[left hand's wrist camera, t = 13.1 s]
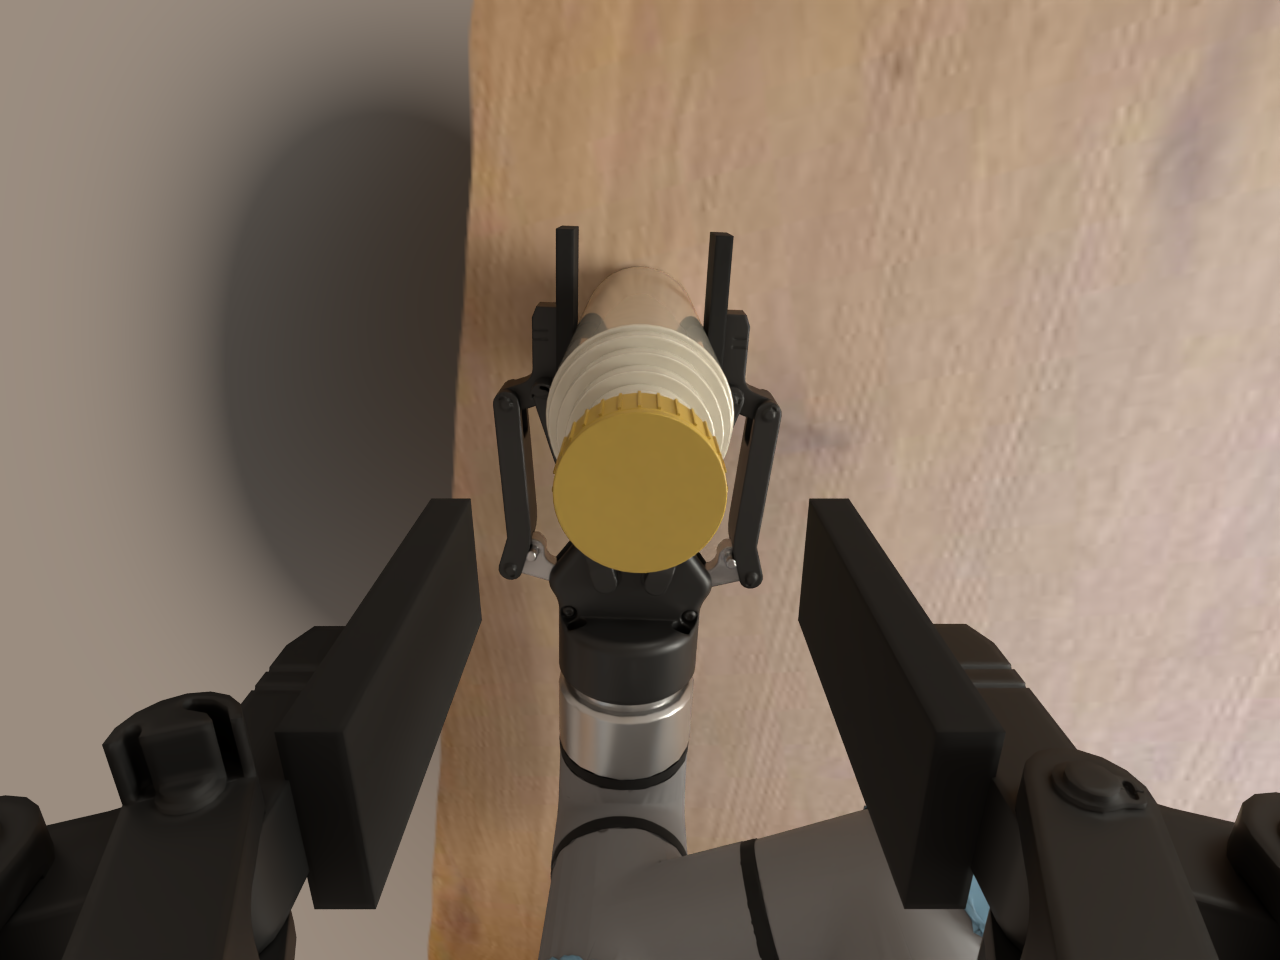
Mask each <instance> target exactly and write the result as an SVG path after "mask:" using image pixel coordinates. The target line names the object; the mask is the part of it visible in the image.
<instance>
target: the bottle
mask: <svg viewBox="0 0 1280 960" xmlns="http://www.w3.org/2000/svg"><path fill="white" fill-rule="evenodd" d="M638 391H641V393H650V394H657V393H660V395H661V396H665V397H668V398H670V399H673V400H675V398H676V399H678V402H679V403H681V404H683V405H685V406H686V407H688V408H689V409H691V408H693V409H694V412H695V414H696V415H697V416H698V417H699V418H700V419H701V420H702V421H706V422H707V425H708V429H709V431H710V432H711V434H712V436H715V437H716V439H717V443H718V446H719V449H720V452H721V454H722V458H723V459H724V457H725V455H726V452H727V449H728V446H729V443H730V439H731V436H732V430H733V425H734V406H733V398H732V394H731V390H730V387H729V384H728V382H727V379H726V377H725V374H724V372H723V370H722V368H721V366H720V363H719V361H718V359H717V357H716V355H715V352H714V350H713V348H712V346H711V344H710V341H709V339H708V337H707V335H706V333H705V330H704V328H703V326H702V324H701V322H700V319H699V317H698V315H697V313H696V311H695V308H694V306H693V304H692V302H691V300H690V298H689V296H688V294H687V292H686V291H685V290H684V288H683V287H682V286H681V285H680V284H679V283H678V281H676V280H675V279H674V278H673V277H671V276H670V275H668V274H666V273H665V272H662V271H660V270H657V269H654V268H649V267H631V268H626V269H623V270H620V271H618V272H615V273H614V274H612V275H610V276H609V277H607V278H606V279H605V280H604V281H602V283H601V284H600V285H599V286H598V287H597V288H596V289H595V291H594V292H593V294H592V296H591V298H590V300H589V302H588V304H587V306H586V308H585V311H584V313H583V315H582V317H581V319H580V322H579V324H578V326H577V328H576V330H575V333H574V335H573V337H572V339H571V341H570V344H569V346H568V348H567V350H566V352H565V355H564V357H563V359H562V361H561V363H560V366H559V368H558V370H557V372H556V374H555V376H554V379H553V382H552V384H551V387H550V390H549V394H548V398H547V405H546V425H547V430H548V436H549V439H550V443H551V446H552V450H553V453H554V455H555V457H556V459H557V458H558V454H559V452H560V449H561V445H562V442H563V439H564V437H567V436H568V434H569V432H570V431H571V427H572V424H573V422H574V421H575V422H577V421H578V420H579V419H580V418H581V417H582V416H583V415H584V413H585V410H586V409H587V408H588V409H589V410H590V409H591V408H592V407H594V406H595V405H597V404H599V403H600V402H601V400H602V399H604V400H607V399H610V398H612V397H615V396H619V393H622V395H623V394H630V393H638Z"/></svg>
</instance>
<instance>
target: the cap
mask: <svg viewBox="0 0 1280 960" xmlns="http://www.w3.org/2000/svg"><path fill="white" fill-rule="evenodd" d="M725 473H727V471H726V467H725V464H724V461H723V458H722V454H721V452H720V449H719V446H718V443H717V439H716V437H715V436H712V434H711V432H710V431H709V429H708V425H707V422H706V421H702V420H701V419H700V418H699V417H698V416H697V415H696V414H695V412H694V409H693V408H691V409H689V408H688V407H686V406H685V405H683V404H681V403H679V402H678V399H676V398H675V400H673V399H670V398H668V397H665V396H661V395H660V393H657V394H650V393H641V391H638V393H630V394H623V395H622V393H619V396H615V397H612V398H610V399H607V400H604V399H602V400H601V402H600V403H599V404H597V405H595V406H594V407H592V408H591V409H590V410H589V409H588V408H587V409H586V410H585V413H584V415H583V416H582V417H581V418H580V419H579V420H578V421H577V422H575V421H574V422H573V424H572V427H571V431H570V432H569V434H568V436H567V437H564V439H563V442H562V445H561V449H560V452H559V454H558V458H557V461H556V464H555V468H554V471H553V474H555V477H554V482H553V487H552V492H553V503H554V508H555V512H556V515H557V518H558V521H559V523H560V525H561V527H562V529H563V531H564V533H565V534H566V536H567V537H568V539H569V540H570V541H571V542H572V543H573V544H574V545H575V547H576V548H578V549H579V550H580V551H581V552H582V553H583V554H584V555H586V556H587V557H589V558H590V559H592V560H593V561H595V562H597V563H599V564H601V565H603V566H606V567H609V568H611V569H615V570H619V571H623V572H631V573H649V572H657V571H661V570H665V569H668V568H671V567H674V566H677V565H679V564H681V563H683V562H685V561H687V560H688V559H690V558H691V557H693V556H694V555H696V554H697V553H698V552H699V551H700V550H701V549H702V548H704V547H705V545H706V544H707V543H708V542H709V541H710V540H711V538H712V537H713V535H714V534H715V533H716V531H717V529H718V527H719V525H720V523H721V521H722V518H723V515H724V512H725V508H726V503H727V491H728V486H727V482H726V477H725Z"/></svg>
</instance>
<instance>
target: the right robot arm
mask: <svg viewBox="0 0 1280 960" xmlns="http://www.w3.org/2000/svg"><path fill="white" fill-rule="evenodd" d="M733 237H734V236H732V235H730V234H728V233H723V232H710V243H709V257H708V271H707V284H706V298H705V312H704V326H703V328H704V330H705V333H706V335H707V337H708V339H709V341H710V344H711V346H712V348H713V350H714V352H715V355H716V357H717V359H718V361H719V363H720V366H721V368H722V370H723V372H724V374H725V377H726V379H727V382H728V384H729V387H730V390H731V394H732V398H733V406H734V425H735V422H736V420H737V418H738V415H739V414H740V415H743V416H745V417H746V420H745V426H744V432H743V437H742V443H741V449H740V455H739V461H738V467H737V473H736V479H735V484H734V490H733V496H732V502H731V508H730V514H729V522H728V532H729V539H724V540H723V541H722V542H720V543H719V545H718V547H717V554H716V556H715V558H714V559H713V560H711V561H710V562H706V561H705V560H704V558H703V557H702V556H701V554H700V553H699V552H698V553H697V554H696V555H694V556H693V557H691V558H690V559H688V560H687V561H685V562H683V563H681V564H679V565H677V566H674V567H671V568H668V569H665V570H661V571H657V572H649V573H631V572H623V571H619V570H615V569H611V568H609V567H606V566H603V565H601V564H599V563H597V562H595V561H593V560H592V559H590V558H589V557H587V556H586V555H584V554H583V553H582V552H581V551H580V550H579V549H578V548H576V547H575V545H574V544H573V543H572V542H571V541H569V542H568V543H567V544H566V546H565V547H564V548H563V549H562V550H561V552H560V553H559V554H558V555H557V556H556V557H555V556H553V555H551V554H550V553H549V552H548V550H547V541H546V538H545V537H544V536H543V535H542V534H541V533H540V532H535V527H536V521H537V505H536V494H535V483H534V471H533V460H532V449H531V438H530V426H529V415H528V408H530V407H534V406H536V408H537V411H538V414H539V417H540V420H541V423H542V426H543V429H544V432H545V435H546V438H547V441H548V444H549V447H550V450H551V453H552V456H553V459H554V461H555V464H556V461H557V459H556V457H555V455H554V453H553V450H552V446H551V443H550V439H549V436H548V430H547V425H546V405H547V398H548V394H549V390H550V387H551V384H552V382H553V379H554V376H555V374H556V372H557V370H558V368H559V366H560V363H561V361H562V359H563V357H564V355H565V352H566V350H567V348H568V346H569V344H570V341H571V339H572V337H573V335H574V333H575V330H576V328H577V326H578V241H579V226H560V227H558V228H556V303H554V302H540V303H539V304H538V305H537V306H536V308H535V311H534V314H533V316H532V355H533V370H532V373H531V374H530V375H528V376H526V377H523V378H520V379H517V380H515V379H512V380H508V381H507V382H505V383H504V385H503V386H502V388H501V389H500V390H499V392H498V393H497V395H496V396H495V398H494V401H493V409H494V418H495V427H496V437H497V446H498V455H499V465H500V474H501V484H502V493H503V502H504V512H505V521H506V531H507V540H506V544H505V547H504V551H503V554H502V557H501V561H500V564H499V572H500V574H501V575H502V576H503V577H504V578H506V579H511V580H513V579H517V578H518V577H519V576H520V575H521V573H524V574H528V575H531V576H535V577H538V578H542V579H545V580H549V583H550V587H551V589H552V591H553V592H554V594H555V595H556V597H557V599H558V603H559V665H560V669H561V673H560V678H559V730H560V778H559V803H558V814H557V822H556V830H555V837H554V844H553V852H552V861H551V885H550V891H549V897H548V903H547V909H546V915H545V922H544V928H543V934H542V940H541V946H540V952H539V958H538V960H977V957H978V953H979V949H980V945H981V941H982V937H983V933H984V929H985V925H986V920H987V916H988V912H989V908H990V907H989V905H988V903H987V901H986V899H985V897H984V895H983V893H982V890H981V888H980V886H979V884H978V882H977V880H976V878H975V876H974V874H973V878H972V883H971V887H970V892H969V896H968V900H967V905H966V909H904V907H903V904H902V902H901V899H900V896H899V893H898V891H897V888H896V885H895V882H894V880H893V877H892V874H891V872H890V869H889V866H888V863H887V861H886V858H885V855H884V852H883V850H882V847H881V844H880V842H879V839H878V836H877V833H876V831H875V828H874V825H873V822H872V820H871V817H870V814H869V812H868V809H867V806H864V809H863V810H861V811H857V812H854V813H850V814H847V815H843V816H839V817H836V818H832V819H829V820H825V821H821V822H818V823H814V824H811V825H807V826H803V827H800V828H796V829H792V830H789V831H785V832H782V833H778V834H774V835H771V836H767V837H764V838H760V839H757V838H756V839H751V840H747V841H744V842H743V841H741V842H737V843H733V844H729V845H725V846H722V847H718V848H714V849H710V850H706V851H702V852H698V853H694V854H690V855H687V843H686V829H685V810H684V804H685V779H686V756H687V750H688V741H689V737H690V725H691V711H692V698H693V683H694V680H693V677H692V676H693V673H694V670H695V661H696V649H697V636H698V624H699V612H700V608H701V605H702V603H703V601H704V600H705V598H706V597H707V596H708V595H709V593H710V591H711V587H713V586H718V585H722V584H727V583H732V582H736V581H740V583H741V585H743V586H744V587H746V588H755V587H757V586H759V585H760V584H761V582H762V580H763V575H762V570H761V565H760V561H759V556H758V551H757V543H758V538H759V532H760V527H761V522H762V517H763V511H764V506H765V501H766V495H767V490H768V485H769V480H770V474H771V469H772V464H773V458H774V453H775V448H776V443H777V437H778V432H779V427H780V421H781V409H780V407H779V406H778V404H777V402H776V401H775V399H774V398H773V396H772V395H771V393H770V392H768V391H767V390H764V389H758V388H755V387H753V386H750V385H749V384H747V383H746V382H745V373H746V363H747V352H748V342H749V331H750V325H749V322H748V318H747V315H746V314H745V313H744V312H743V310H727V309H728V297H729V285H730V273H731V261H732V249H733ZM734 425H733V427H734Z"/></svg>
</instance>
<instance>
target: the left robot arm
mask: <svg viewBox="0 0 1280 960" xmlns="http://www.w3.org/2000/svg"><path fill="white" fill-rule="evenodd" d="M481 621H482V617H481V606H480V595H479V585H478V574H477V563H476V552H475V541H474V530H473V519H472V509H471V499H431V500H430V501H429V503H428V504H427V506H426V507H425V509H424V510H423V512H422V513H421V515H420V516H419V518H418V519H417V521H416V522H415V524H414V525H413V527H412V528H411V530H410V531H409V533H408V534H407V536H406V537H405V539H404V540H403V542H402V543H401V545H400V546H399V547H398V549H397V550H396V552H395V553H394V555H393V556H392V558H391V559H390V561H389V562H388V564H387V565H386V567H385V568H384V570H383V571H382V573H381V574H380V576H379V577H378V579H377V580H376V582H375V583H374V585H373V586H372V588H371V589H370V591H369V592H368V594H367V595H366V596H365V598H364V599H363V601H362V602H361V604H360V605H359V607H358V609H357V610H356V611H355V613H354V614H353V616H352V617H351V619H350V620H349V622H348V623H347V625H346V626H314V627H313V628H311V629H310V630H308V631H307V632H305V633H304V634H302V635H301V636H299V637H298V638H296V639H295V640H294V641H292V642H291V643H289V644H288V645H286V647H285V648H284V649H283V650H282V652H281V653H280V654H279V656H278V657H277V658H276V660H275V661H274V662H273V663H272V665H271V666H270V668H269V672H265V674H264V675H263V676H262V678H261V679H260V680H259V682H258V683H257V684H256V685H255V690H254V691H253V690H252V691H251V692H250V693H249V694H248V696H247V697H246V698H245V700H244V701H243V702H242V703H241V704H240V703H239V702H237V701H236V700H235V699H234V698H232V697H231V696H230V695H226V694H221V693H215V692H200V693H188V694H184V695H180V696H176V697H173V698H169V699H166V700H162V701H160V702H157V703H155V704H153V705H151V706H149V707H147V708H145V709H143V710H141V711H139V712H136V713H135V714H133V715H132V716H131V717H129V718H128V719H127V720H125V721H124V722H123V723H121V724H120V725H119V726H117V727H116V728H115V729H114V730H113V731H112V733H111V734H110V735H109V737H108V738H107V739H106V740H105V742H104V743H103V744H102V746H103V749H104V752H105V755H106V758H107V761H108V764H109V767H110V770H111V773H112V775H113V778H114V781H115V784H116V787H117V790H118V793H119V796H120V799H121V802H122V807H121V808H118V809H115V810H111V811H108V812H103V813H99V814H95V815H91V816H86V817H82V818H77V819H73V820H69V821H64V822H60V823H56V824H51V825H47V826H46V824H45V821H44V819H43V816H42V813H41V811H40V808H39V806H38V805H37V804H35V803H34V802H32V801H31V800H30V799H28V798H27V797H18V796H6V795H5V796H0V960H294V958H295V947H296V932H295V926H294V920H293V917H292V912H291V909H292V907H293V905H294V902H295V900H296V898H297V896H298V894H299V892H300V890H301V888H302V886H303V884H304V882H305V880H306V878H308V883H309V887H310V892H311V896H312V900H313V905H314V909H376V907H377V904H378V902H379V899H380V896H381V893H382V891H383V888H384V885H385V882H386V880H387V877H388V874H389V872H390V869H391V866H392V863H393V861H394V858H395V855H396V852H397V850H398V847H399V844H400V842H401V839H402V836H403V833H404V831H405V828H406V825H407V822H408V820H409V817H410V814H411V812H412V809H413V806H414V803H415V801H416V798H417V795H418V792H419V790H420V787H421V784H422V782H423V779H424V776H425V773H426V771H427V768H428V765H429V762H430V760H431V757H432V754H433V752H434V749H435V746H436V743H437V741H438V738H439V735H440V733H441V730H442V727H443V724H444V722H445V719H446V716H447V713H448V711H449V708H450V705H451V703H452V700H453V697H454V694H455V692H456V689H457V686H458V683H459V681H460V678H461V675H462V673H463V670H464V667H465V664H466V662H467V659H468V656H469V653H470V651H471V648H472V645H473V643H474V640H475V637H476V634H477V632H478V629H479V626H480V623H481ZM798 621H799V623H800V626H801V629H802V632H803V634H804V637H805V640H806V643H807V645H808V648H809V651H810V653H811V656H812V659H813V662H814V664H815V667H816V670H817V673H818V675H819V678H820V681H821V683H822V686H823V689H824V692H825V694H826V697H827V700H828V703H829V705H830V708H831V711H832V713H833V716H834V719H835V722H836V724H837V727H838V730H839V733H840V735H841V738H842V741H843V743H844V746H845V749H846V752H847V754H848V757H849V760H850V763H851V765H852V768H853V771H854V773H855V776H856V779H857V782H858V784H859V787H860V790H861V792H862V795H863V798H864V801H865V803H866V806H867V809H868V812H869V814H870V817H871V820H872V822H873V825H874V828H875V831H876V833H877V836H878V839H879V842H880V844H881V847H882V850H883V852H884V855H885V858H886V861H887V863H888V866H889V869H890V872H891V874H892V877H893V880H894V882H895V885H896V888H897V891H898V893H899V896H900V899H901V902H902V904H903V907H904V909H966V905H967V900H968V896H969V892H970V887H971V883H972V878H973V874H974V876H975V878H976V880H977V882H978V884H979V886H980V888H981V890H982V893H983V895H984V897H985V899H986V901H987V903H988V905H989V907H990V908H989V912H988V916H987V920H986V925H985V929H984V933H983V937H982V941H981V945H980V949H979V953H978V957H977V960H1280V793H1277V792H1274V793H1263V794H1254V795H1253V796H1252V797H1250V798H1249V799H1247V800H1246V801H1244V802H1243V803H1242V806H1241V808H1240V811H1239V813H1238V816H1237V819H1236V821H1235V823H1234V822H1230V821H1225V820H1221V819H1217V818H1212V817H1208V816H1203V815H1199V814H1195V813H1190V812H1186V811H1182V810H1177V809H1173V808H1169V807H1166V806H1163V805H1159V804H1157V803H1156V801H1155V800H1154V798H1153V797H1152V795H1151V794H1150V792H1149V791H1148V789H1147V788H1146V786H1144V785H1143V784H1142V783H1141V782H1140V781H1138V780H1137V779H1136V778H1135V777H1134V776H1133V775H1131V774H1130V773H1129V772H1128V771H1127V770H1125V769H1123V768H1121V767H1119V766H1117V765H1115V764H1114V763H1112V762H1110V761H1108V760H1106V759H1104V758H1102V757H1099V756H1096V755H1093V754H1090V753H1086V752H1083V751H1080V750H1077V749H1076V748H1075V746H1074V745H1073V744H1072V742H1071V741H1070V740H1069V739H1068V737H1067V736H1066V735H1065V733H1064V732H1063V731H1062V730H1061V728H1060V727H1059V726H1058V724H1057V723H1056V722H1055V721H1054V719H1053V718H1052V717H1051V715H1050V714H1049V713H1048V712H1047V710H1046V709H1045V708H1044V706H1043V705H1042V704H1041V703H1040V701H1039V700H1038V699H1037V698H1036V696H1035V695H1034V694H1033V692H1032V691H1031V690H1030V689H1029V688H1026V686H1025V682H1024V681H1023V680H1022V678H1021V677H1020V676H1019V674H1018V673H1017V672H1016V671H1015V669H1011V664H1010V663H1009V662H1008V660H1007V659H1006V658H1005V656H1004V655H1003V654H1002V653H1001V651H1000V650H999V649H998V647H997V646H996V645H995V644H994V643H993V642H992V641H990V640H989V639H987V638H986V637H985V636H983V635H982V634H980V633H979V632H977V631H976V630H974V629H973V628H971V627H970V626H968V625H967V624H933V623H932V622H931V620H930V619H929V617H928V616H927V614H926V613H925V611H924V610H923V608H922V607H921V605H920V604H919V602H918V601H917V599H916V598H915V596H914V595H913V594H912V592H911V591H910V589H909V588H908V586H907V585H906V583H905V582H904V580H903V579H902V577H901V576H900V574H899V573H898V571H897V570H896V568H895V567H894V565H893V564H892V562H891V561H890V559H889V558H888V556H887V555H886V553H885V552H884V550H883V549H882V547H881V546H880V544H879V543H878V542H877V540H876V539H875V537H874V536H873V534H872V533H871V531H870V530H869V528H868V527H867V525H866V524H865V522H864V521H863V519H862V518H861V516H860V515H859V513H858V512H857V510H856V509H855V507H854V506H853V504H852V503H851V501H850V500H849V499H809V509H808V519H807V530H806V541H805V552H804V563H803V574H802V584H801V595H800V606H799V617H798Z"/></svg>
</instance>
